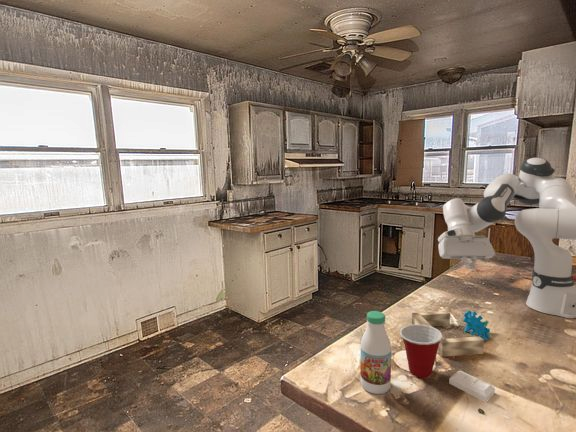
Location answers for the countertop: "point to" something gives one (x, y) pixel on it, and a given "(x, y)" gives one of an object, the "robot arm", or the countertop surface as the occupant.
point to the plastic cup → (421, 348)
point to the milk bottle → (375, 355)
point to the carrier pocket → (454, 344)
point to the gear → (476, 325)
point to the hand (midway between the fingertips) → (471, 268)
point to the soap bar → (472, 385)
